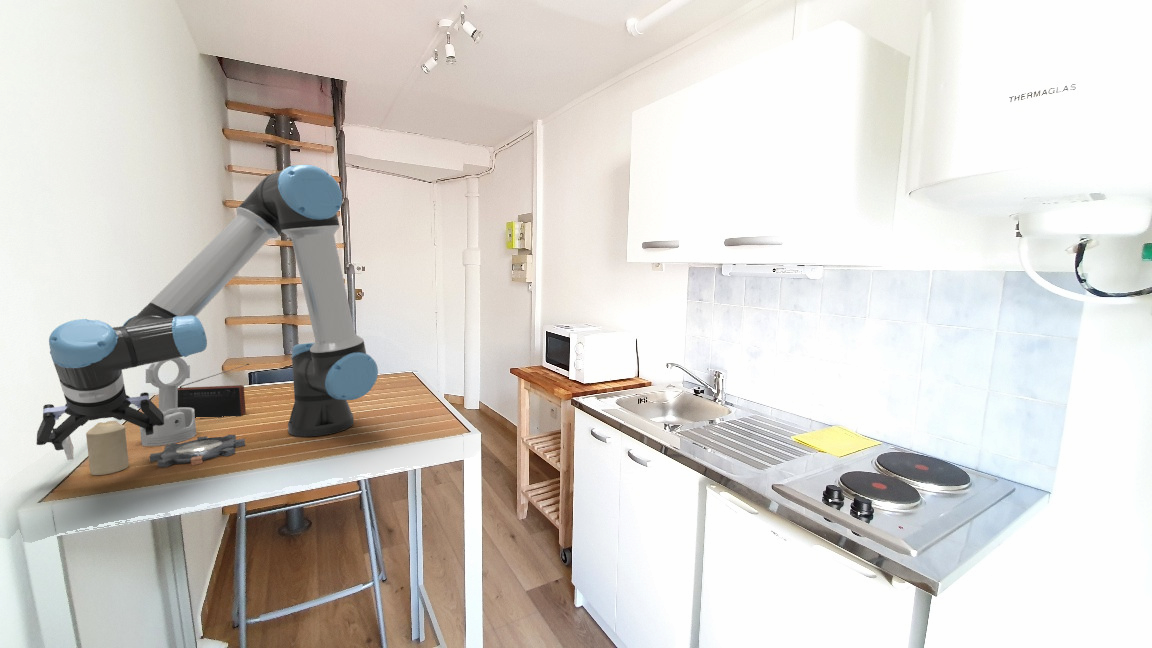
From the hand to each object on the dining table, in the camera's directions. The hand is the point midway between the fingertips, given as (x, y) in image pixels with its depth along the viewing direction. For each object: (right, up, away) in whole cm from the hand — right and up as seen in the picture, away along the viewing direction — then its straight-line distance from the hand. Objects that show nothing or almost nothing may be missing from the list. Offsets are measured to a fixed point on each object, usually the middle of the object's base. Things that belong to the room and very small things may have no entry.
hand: (109, 447), depth 93 cm
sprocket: (+13, -3, +8) cm, 15 cm away
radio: (-5, -1, +34) cm, 34 cm away
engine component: (-2, -3, +17) cm, 17 cm away
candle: (+2, -4, -2) cm, 5 cm away
